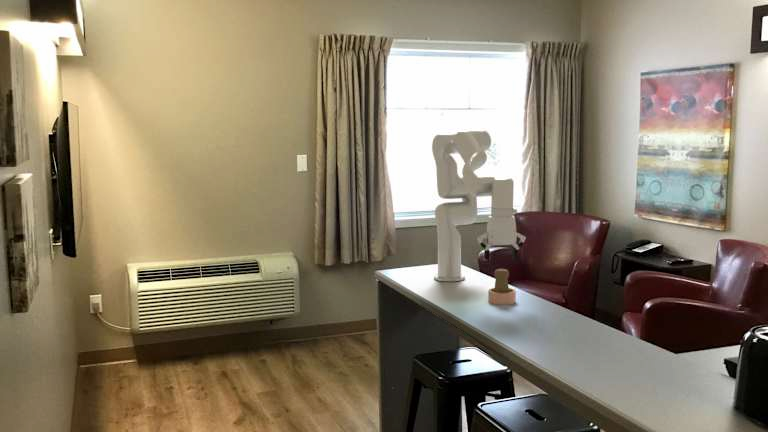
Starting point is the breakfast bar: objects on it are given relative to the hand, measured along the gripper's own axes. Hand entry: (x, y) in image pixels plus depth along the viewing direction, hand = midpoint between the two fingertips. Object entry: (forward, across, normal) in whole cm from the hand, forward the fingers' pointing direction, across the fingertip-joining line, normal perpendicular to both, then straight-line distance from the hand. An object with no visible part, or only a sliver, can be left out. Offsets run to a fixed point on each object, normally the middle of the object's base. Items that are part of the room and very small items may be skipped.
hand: (501, 260), depth 245 cm
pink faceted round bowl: (+15, 0, +1) cm, 15 cm away
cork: (+14, 0, +1) cm, 14 cm away
